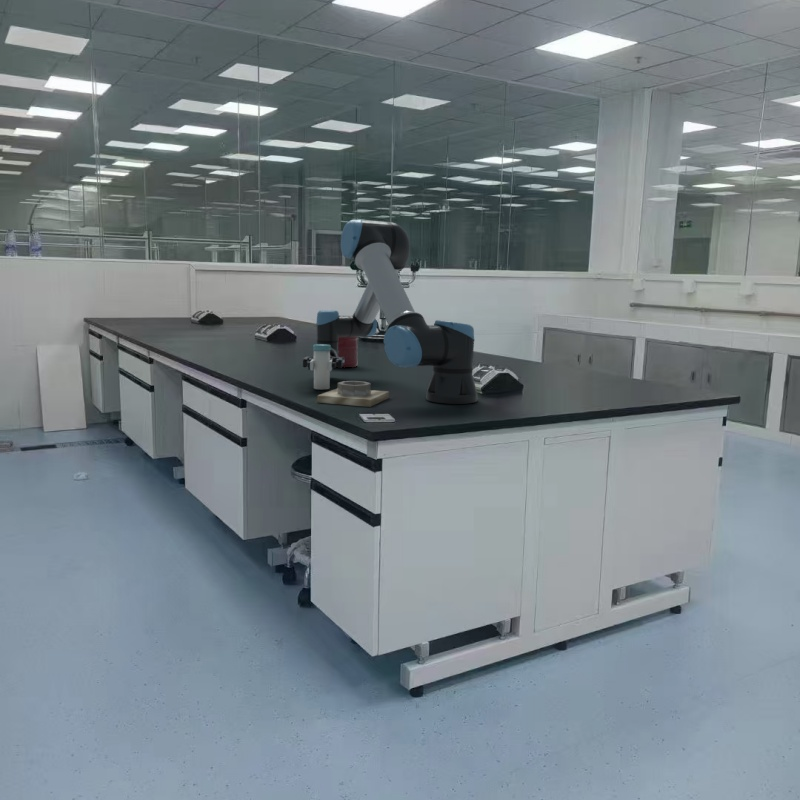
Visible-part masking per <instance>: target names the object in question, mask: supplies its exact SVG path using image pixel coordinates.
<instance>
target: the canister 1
mask: <svg viewBox="0 0 800 800" xmlns="http://www.w3.org/2000/svg"><path fill="white" fill-rule="evenodd" d="M312 348H313V349H312V350H313V357H314V369H313V389H315V390H330V388H331V386H330V384H331V383H330V382H331V381H330V380H331V377H330V376H331V375H330V374H331V373H330V372H331V371H329V361H330V350H331V345H327V344H317V343H316V344H313V345H312Z"/></svg>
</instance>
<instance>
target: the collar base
mask: <svg viewBox="0 0 800 800" xmlns="http://www.w3.org/2000/svg"><path fill="white" fill-rule="evenodd" d="M371 385H372V384H371V383H370V382H367V381H359V380H346V381H345V380H343V381H340V382H337V388H335V389H331V390H329V391H326V392H322V393H321V394H317V395H316V396H317V400H316V403H320V404H321V403H322V404H331V405H332V404H333V405H344V406H357V407H368V408H369V407H370V408H371V407H373V406H375V405H377V404H379V403H383V402H384V401H387V400H389V399H390V391H387V390H375V389H374V390H371V389H372V387H371Z"/></svg>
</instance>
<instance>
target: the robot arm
mask: <svg viewBox="0 0 800 800" xmlns="http://www.w3.org/2000/svg"><path fill="white" fill-rule="evenodd" d="M340 251H341V254H342V256H343V257H344V258H346V259H348V260H349V259H353V261H354V264H355V266H356V267H357V268H358V269H359V270H361V271H364V274H365V276H366V279H367V280H368V282H367V285H366V287H365V289H364V291H363V293H362V295H361V297H360V300H359V302H358V304H357V306H356V308H355V311H354V312H353V314H352V315H339V311H338V310H334V309H333V310H332V309H331V310H328V309H327V310H325V309H324V310H323V309H322V310H319V311H318V312H317V314H316V344H327V345H331V350H330V361H329V371H330V372H332V370H333V369H336V366H338V368H339V369H343V368H342V365H344V361H345V360H344V359H345V357H339V351H338V337H358V338H366V337H372V336H374V335H375V334H376V333H377V330H378V329H377V328H378V322H377V319H376V318H377V315H378V313H379V312H380V310H381V312H382V314H383V315H384V316H383V317H384V318H385V321H386V323H387V327H386V329H385V333H384V337H383V344H384V347H383V349H384V351H385V355H386V357H387V358H388V360H389V361H390V363H392V364H393V365H394V366H396V367H398V368H399V367H400V368H407V369H408V368H409V369H411V368H417V367H432V376H431V379H430V381H429V384H428V386H427V389H426V394H425V395H426V397H425V399H426V400H427V401H429V402H433V403H436V404H437V403H438V404H446V405H447V404H449V405H467V404H472V403H473V404H474V403H476V402H478V391H477V386H476V382H475V380H474V376H473V370H474V369H473V367H474V366H473V365H474V364H473V363H474V347H475V339H476V338H475V330H474V327H473V326H472V325H471V324H468V323H462V322H454V321H449V320H447V321H446V320H440V319H439V320H438V319H437V320H435V321H434V323H433V324H431V325H430V324H427V322H426V320H425V318H424V316H423V315H422V314H421V313H419V312H416V311H415V309H414V308H413V304H412V303H411V300H410V298H409V297H408V295H407V292H406V290H405V289H404V286H403V284H402V282H401V280H400V278H399V276H398V273H399V272H400V271H401V270H403V269H405V268H406V265H407V264H408V261H409V259H410V254H411V242H410V237H409V235H408V233H407V232H406V230H405V229H404V228H403V226H401V225H400V224H398V223H395V222H392V221H383V220H382V221H380V220H368V219H361V218H360V219H349V220H348V221H347V222H346V224H344V227H343V230H342V232H341V236H340ZM310 357H311V356H307V355H305V356H303V359H302V367H303V368H307V369H308V370H309V371H313V372H314V356H312V357H311V358H310ZM338 368H337V369H338Z"/></svg>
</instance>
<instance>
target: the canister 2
mask: <svg viewBox="0 0 800 800" xmlns="http://www.w3.org/2000/svg"><path fill="white" fill-rule="evenodd" d="M358 339H359V337H338V351H339V357H345V359H344V360H345V361H344V365H342V367H344V368H343V369H345V367H352V368H357V367H358V364H359V363H358V362H359V360H358V350H359V349H358V347H359V345H358ZM356 366H357V367H356ZM336 367H338V366H336Z"/></svg>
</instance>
